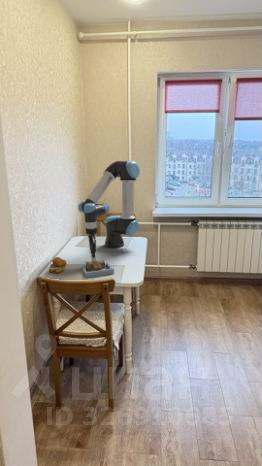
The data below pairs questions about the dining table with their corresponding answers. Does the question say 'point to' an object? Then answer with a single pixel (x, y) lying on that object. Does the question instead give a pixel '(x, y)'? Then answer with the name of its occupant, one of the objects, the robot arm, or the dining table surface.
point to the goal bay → (100, 272)
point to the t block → (95, 265)
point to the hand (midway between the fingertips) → (93, 261)
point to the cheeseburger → (57, 265)
